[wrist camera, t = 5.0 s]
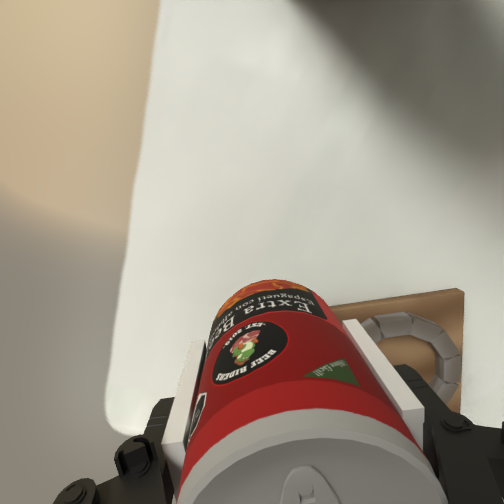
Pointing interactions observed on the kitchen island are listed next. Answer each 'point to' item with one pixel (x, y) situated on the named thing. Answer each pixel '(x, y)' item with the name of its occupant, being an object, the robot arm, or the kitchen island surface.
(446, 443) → the robot arm
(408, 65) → the kitchen island surface
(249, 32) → the kitchen island surface
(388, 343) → the socket board
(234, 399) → the canned food
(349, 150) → the kitchen island surface
